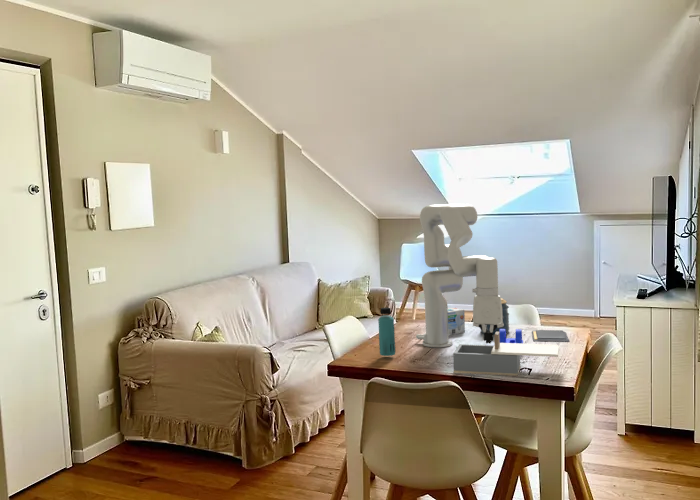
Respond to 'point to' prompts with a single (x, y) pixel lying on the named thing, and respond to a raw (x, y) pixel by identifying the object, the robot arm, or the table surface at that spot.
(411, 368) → the table surface
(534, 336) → the wallet
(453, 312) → the light bulb box
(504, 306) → the canister
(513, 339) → the bracket
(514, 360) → the grey tray
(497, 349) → the lid
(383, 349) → the beverage bottle
